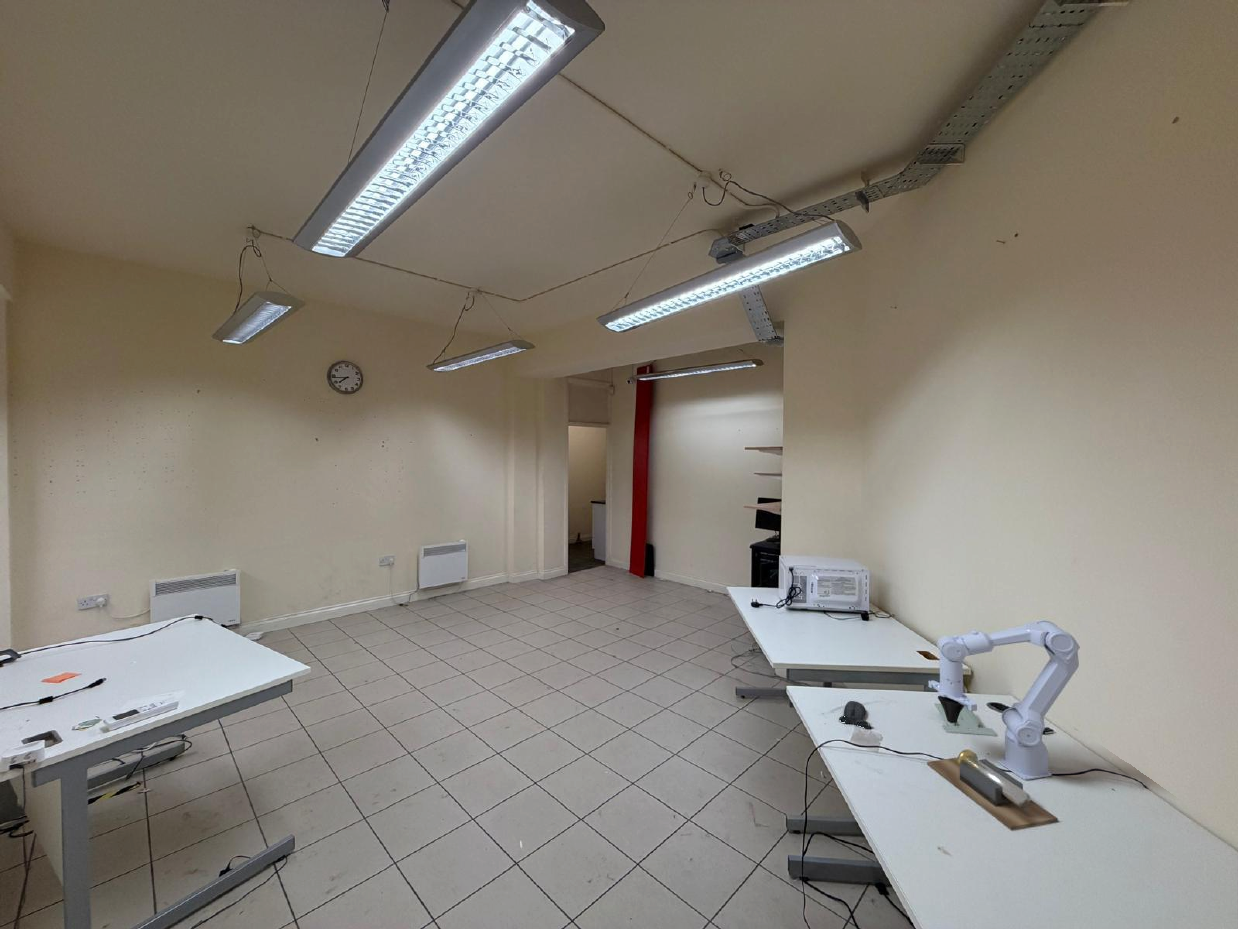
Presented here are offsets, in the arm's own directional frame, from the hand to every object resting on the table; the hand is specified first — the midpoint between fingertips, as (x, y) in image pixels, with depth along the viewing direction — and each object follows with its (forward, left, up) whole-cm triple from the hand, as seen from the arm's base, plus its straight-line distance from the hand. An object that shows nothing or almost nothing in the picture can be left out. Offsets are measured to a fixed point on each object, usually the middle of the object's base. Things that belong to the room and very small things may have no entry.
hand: (952, 721), depth 135 cm
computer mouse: (+14, -25, -11) cm, 30 cm away
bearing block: (+4, +15, -10) cm, 19 cm away
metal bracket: (-18, -14, -11) cm, 25 cm away
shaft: (+4, +16, -9) cm, 18 cm away
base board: (+4, +15, -10) cm, 19 cm away
